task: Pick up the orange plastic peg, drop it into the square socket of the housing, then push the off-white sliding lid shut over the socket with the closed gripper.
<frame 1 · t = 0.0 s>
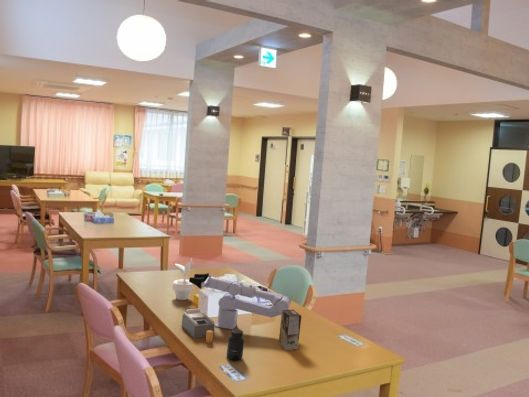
hand: (192, 277, 248), 22 cm above the table, tool horizontal, fingers open, 7 cm apart
lid: (195, 313, 238), point 7 cm above the table, slide at 8.0 cm
supplement bottle: (234, 358, 209), on the table
peg: (208, 342, 223), on the table
coffee box: (287, 346, 228), on the table
housing: (197, 330, 235), on the table
potted plant: (181, 298, 283), on the table
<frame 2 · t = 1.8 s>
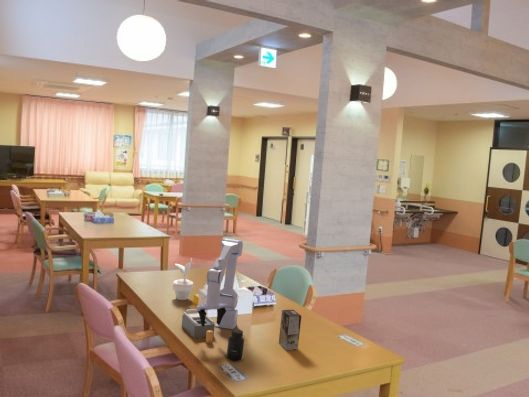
hand: (210, 324, 223), 8 cm above the table, tool pointing down, fingers open, 7 cm apart
nothing on the table moved.
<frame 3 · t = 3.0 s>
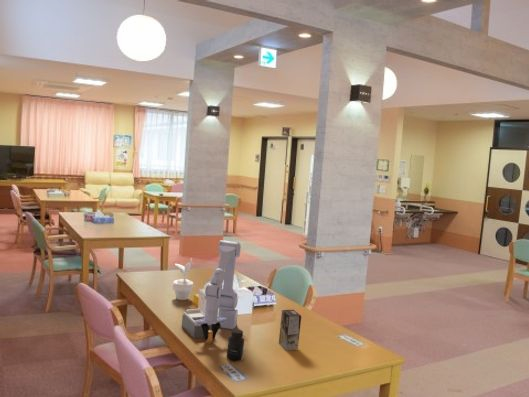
hand: (209, 339, 223), 1 cm above the table, tool pointing down, fingers closed on peg, 3 cm apart
peg: (208, 342, 223), on the table, touching gripper
everything else where it was.
when the fingers open (8 cm above the table, at t = 5.4 s): peg drops 7 cm, resting in housing.
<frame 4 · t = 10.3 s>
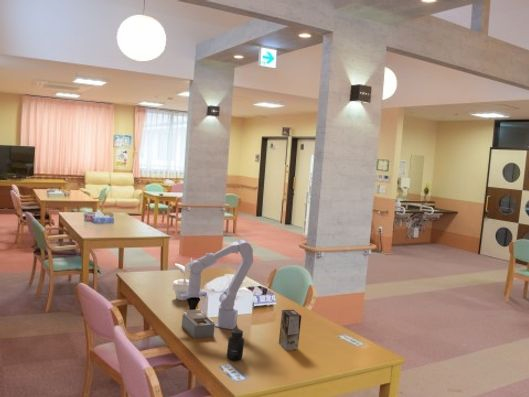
hand: (192, 311, 242), 7 cm above the table, tool pointing down, fingers closed
lid: (196, 314, 238), point 7 cm above the table, slide at 7.3 cm, touching gripper
peg: (200, 334, 232), resting in housing
everything else where it was.
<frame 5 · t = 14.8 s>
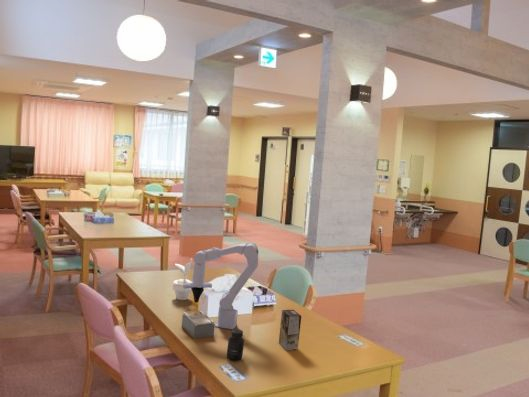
hand: (196, 301, 246), 10 cm above the table, tool pointing down, fingers closed
lid: (201, 319, 231), point 7 cm above the table, slide at 0.0 cm
everything else where it was.
at the end: peg 0.0 cm from the target spot on the housing, point 0.0 cm above the housing's base; lid slide at 0.0 cm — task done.
